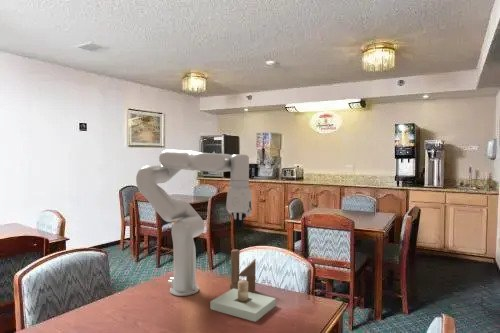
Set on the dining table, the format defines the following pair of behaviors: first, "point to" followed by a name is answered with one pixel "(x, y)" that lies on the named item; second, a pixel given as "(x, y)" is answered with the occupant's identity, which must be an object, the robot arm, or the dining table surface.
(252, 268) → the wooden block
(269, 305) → the board
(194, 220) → the robot arm
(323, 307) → the dining table surface
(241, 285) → the peg
